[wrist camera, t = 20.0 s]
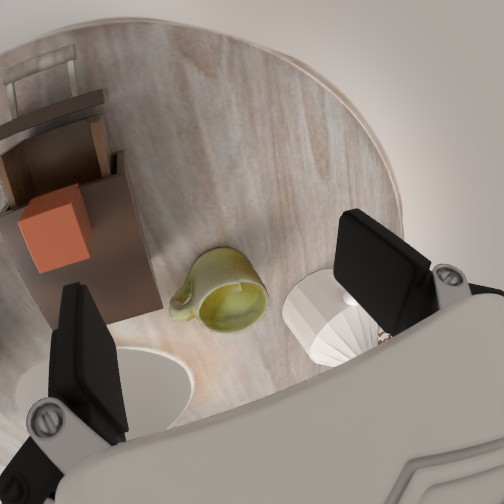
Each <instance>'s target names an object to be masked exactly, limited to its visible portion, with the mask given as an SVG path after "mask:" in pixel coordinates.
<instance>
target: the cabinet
mask: <svg viewBox="0 0 504 504" xmlns="http://www.w3.org/2000/svg"><path fill="white" fill-rule="evenodd" d="M112 156H113V161H114V165H115V170H116V174H115V175H112V176H108V177H105V178H102V179H98V180H95V181H92V182H88V183H85V184H82V185H79V187H80V191H81V194H82V197H83V201H84V204H85V207H86V211H87V214H88V217H89V220H90V223H91V226H92V229H93V235H92V245H91V257H90V258H89V259H85V260H82V261H79V262H76V263H72V264H69V265H66V266H63V267H60V268H56V269H53V270H50V271H47V272H44V273H41V274H40V273H39V271H38V269H37V266H36V264H35V262H34V260H33V258H32V256H31V253H30V251H29V249H28V247H27V244H26V242H25V240H24V237H23V235H22V232H21V230H20V227H19V225H18V220H19V219H20V217H21V215H22V214H23V212H24V210H25V209H26V207H27V205H28V204H29V203H27V204H24V205H22V206H19V207H16V208H14V209H10V206H9V203H8V202H7V204H6V205H5V206H4V208H3V209H2V210H1V212H0V231H1V233H2V235H3V238H4V240H5V242H6V245H7V247H8V249H9V251H10V253H11V256H12V258H13V260H14V262H15V264H16V266H17V268H18V270H19V272H20V274H21V276H22V278H23V280H24V282H25V284H26V286H27V288H28V289H29V291H30V293H31V295H32V297H33V298H34V300H35V302H36V304H37V306H38V307H39V309H40V311H41V312H42V314H43V316H44V317H45V319H46V321H47V322H48V324H49V326H50V327H51V329H52V330H53V331H54V330H55V329H58V322H59V313H60V305H61V297H62V290H63V286H65V285H68V284H72V283H75V282H80V283H81V285H84V284H86V285H87V287H88V289H89V291H90V293H91V295H92V298H93V300H94V302H95V304H96V306H97V308H98V310H99V312H100V314H101V316H102V318H103V320H104V322H105V324H106V325H107V324H111V323H115V322H118V321H122V320H125V319H129V318H132V317H135V316H139V315H142V314H146V313H149V312H153V311H156V310H159V309H163V305H162V301H161V298H160V294H159V290H158V286H157V282H156V278H155V274H154V270H153V266H152V262H151V258H150V255H149V251H148V248H147V244H146V241H145V237H144V233H143V230H142V226H141V222H140V218H139V214H138V210H137V206H136V202H135V198H134V194H133V190H132V185H131V181H130V176H129V172H128V167H127V162H126V158H125V153H124V150H122V151H119V152H115V153H112Z"/></svg>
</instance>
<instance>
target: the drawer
mask: <svg viewBox="0 0 504 504" xmlns="http://www.w3.org/2000/svg"><path fill="white" fill-rule="evenodd" d="M75 59H76V48H75V45H74V44H72V45H69V46H66V47H63V48H60V49H57V50H54V51H51V52H48V53H45V54H43V55H40V56H37V57H35V58H32V59H30V60H27V61H25V62H22V63H20V64H18V65H15V66H13V67H11V68H8V69H6V70H4V71H3V72H2V81H3V83H4V85H7V91H8V98H9V104H10V109H11V115H12V121H9V122H7V123H5V124H3V125H1V126H0V140H2V139H4V138H7V137H9V136H11V135H14V134H16V133H18V132H21V131H23V130H26V129H28V128H31V127H33V126H36V125H39V124H41V123H44V122H47V121H49V120H52V119H55V118H58V117H61V116H64V115H67V114H70V113H73V112H76V111H79V110H83V109H86V108H89V107H93V106H96V105H100V104H103V103H105V102H106V101H107V100H108V99H109V97H108V90H107V88H105V89H101V90H97V91H94V92H90V93H87V94H83V95H80V96H79V92H78V85H77V78H76V71H75V63H74V60H75ZM66 62H67V67H68V75H69V82H70V89H71V95H72V98H70V99H67V100H64V101H61V102H58V103H55V104H53V105H50V106H47V107H44V108H42V109H39V110H36V111H34V112H31V113H29V114H26V115H24V116H21V117H19V112H18V106H17V101H16V95H15V88H14V83H13V82H15V81H18V80H20V79H22V78H25V77H27V76H30V75H32V74H35V73H37V72H40V71H43V70H45V69H48V68H51V67H54V66H57V65H60V64H63V63H66ZM115 174H116V170H115V165H114V161H113V156H112V151H111V147H110V142H109V137H108V131H107V126H106V121H105V115H104V113H101V114H98V115H94V116H91V117H88V118H84V119H81V120H78V121H75V122H71V123H68V124H65V125H62V126H59V127H56V128H54V129H51V130H48V131H45V132H43V133H40V134H37V135H35V136H32V137H29V138H27V139H24V140H22V141H20V142H18V143H16V144H15V145H13V146H12V147H10V148H9V149H8V150H6V151H5V152H3V153H2V154H1V155H0V179H1V182H2V186H3V189H4V192H5V195H6V198H7V201H8V203H9V206H10V209H14V208H16V207H19V206H22V205H24V204H27V203H29V202H30V201H31V199H33V198H36V197H38V196H41V195H44V194H47V193H50V192H53V191H55V190H58V189H61V188H64V187H67V186H70V185H73V184H77V183H78V184H79V185H82V184H85V183H88V182H92V181H95V180H98V179H102V178H105V177H108V176H112V175H115Z"/></svg>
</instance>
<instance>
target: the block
mask: <svg viewBox="0 0 504 504" xmlns="http://www.w3.org/2000/svg"><path fill="white" fill-rule="evenodd" d="M18 225H19V227H20V230H21V232H22V235H23V237H24V240H25V242H26V244H27V247H28V249H29V251H30V253H31V256H32V258H33V260H34V262H35V264H36V266H37V269H38V271H39V273H40V274H41V273H44V272H47V271H50V270H53V269H56V268H60V267H63V266H66V265H69V264H72V263H76V262H79V261H82V260H85V259H89V258H90V257H91V245H92V235H93V229H92V226H91V223H90V220H89V217H88V214H87V211H86V207H85V204H84V201H83V197H82V194H81V191H80V187H79V184H78V183H77V184H73V185H70V186H67V187H64V188H61V189H58V190H55V191H53V192H50V193H47V194H44V195H41V196H38V197H36V198H33V199H31V201H30V202H29V204H28V205H27V207H26V209H25V210H24V212H23V214H22V215H21V217H20V219H19V220H18Z"/></svg>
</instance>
